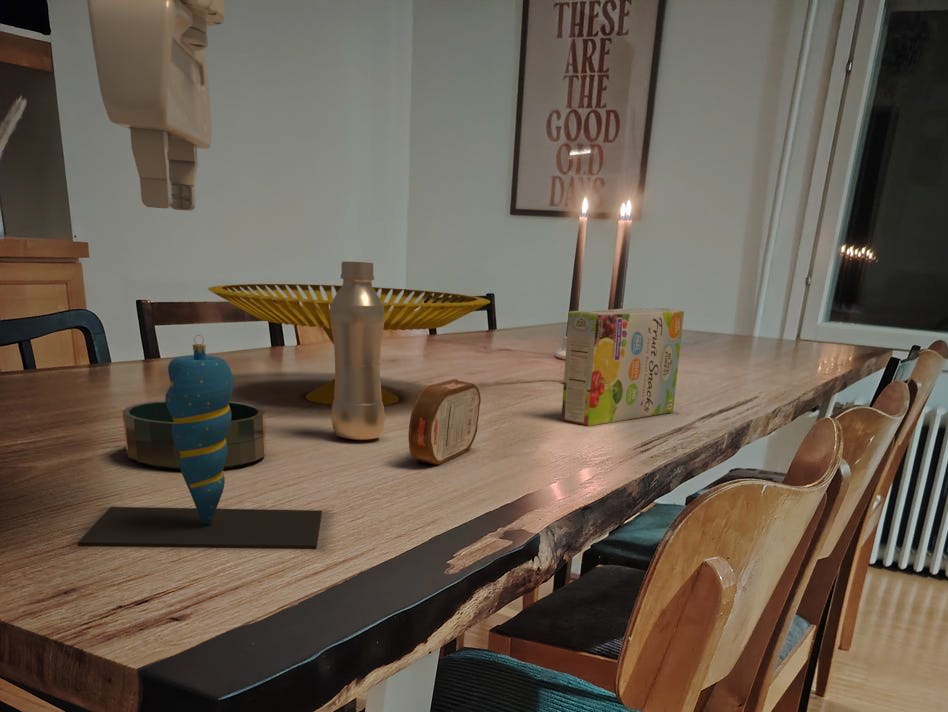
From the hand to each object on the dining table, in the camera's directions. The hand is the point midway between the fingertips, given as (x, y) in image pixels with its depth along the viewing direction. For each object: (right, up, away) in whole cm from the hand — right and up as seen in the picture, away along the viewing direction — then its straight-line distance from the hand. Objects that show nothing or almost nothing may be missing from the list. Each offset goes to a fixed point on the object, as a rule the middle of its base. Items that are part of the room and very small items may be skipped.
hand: (171, 209), depth 68 cm
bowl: (-8, -12, +31) cm, 35 cm away
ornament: (0, -22, +8) cm, 24 cm away
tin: (+19, -11, +38) cm, 44 cm away
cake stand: (+3, +5, +72) cm, 72 cm away
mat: (0, -23, +8) cm, 24 cm away
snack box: (+43, +1, +69) cm, 81 cm away
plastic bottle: (+8, -7, +45) cm, 46 cm away
